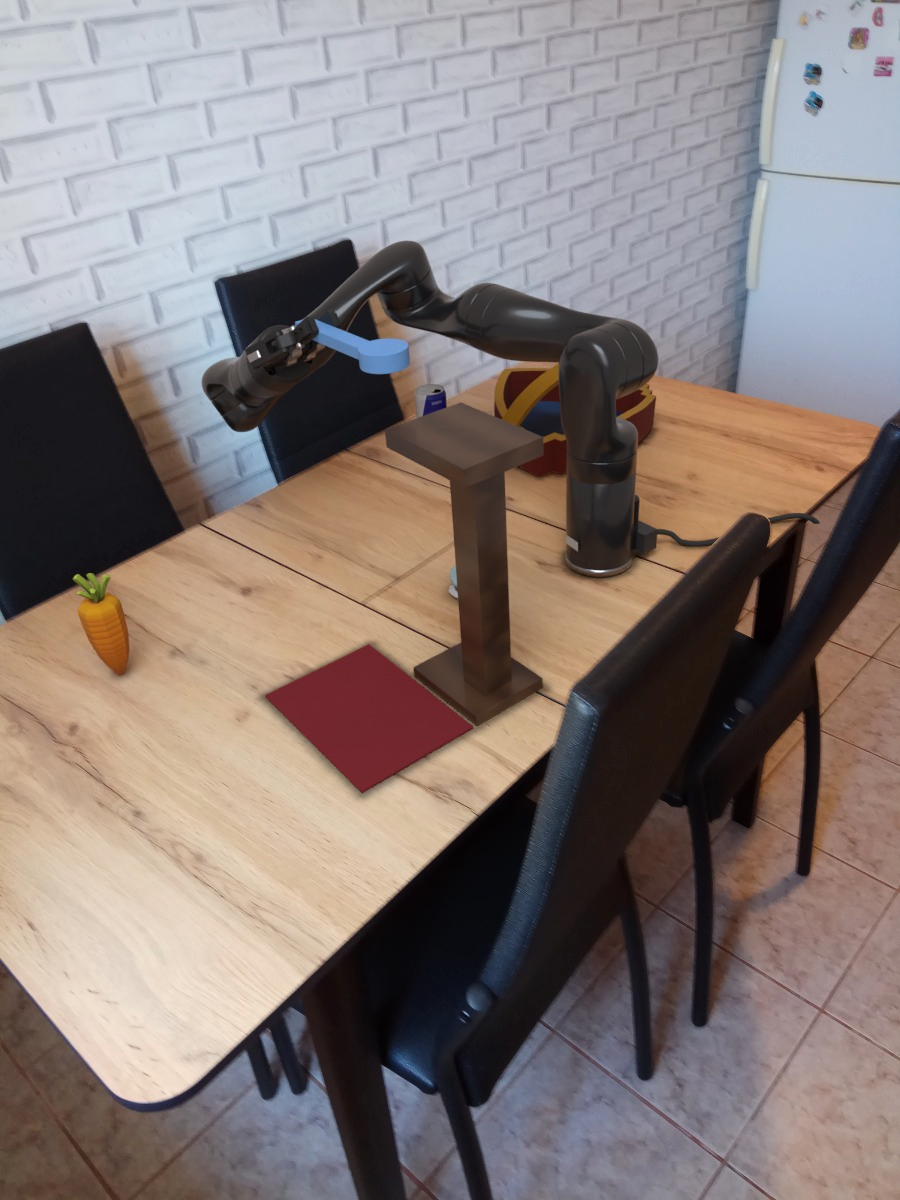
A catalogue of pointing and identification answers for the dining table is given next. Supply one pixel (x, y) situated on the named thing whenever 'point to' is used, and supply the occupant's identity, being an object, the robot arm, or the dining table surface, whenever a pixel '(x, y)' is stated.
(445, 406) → the energy drink
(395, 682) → the cloth
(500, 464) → the stand
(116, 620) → the carrot
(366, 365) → the blue disc paddle
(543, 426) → the decorative basket
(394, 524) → the dining table surface
